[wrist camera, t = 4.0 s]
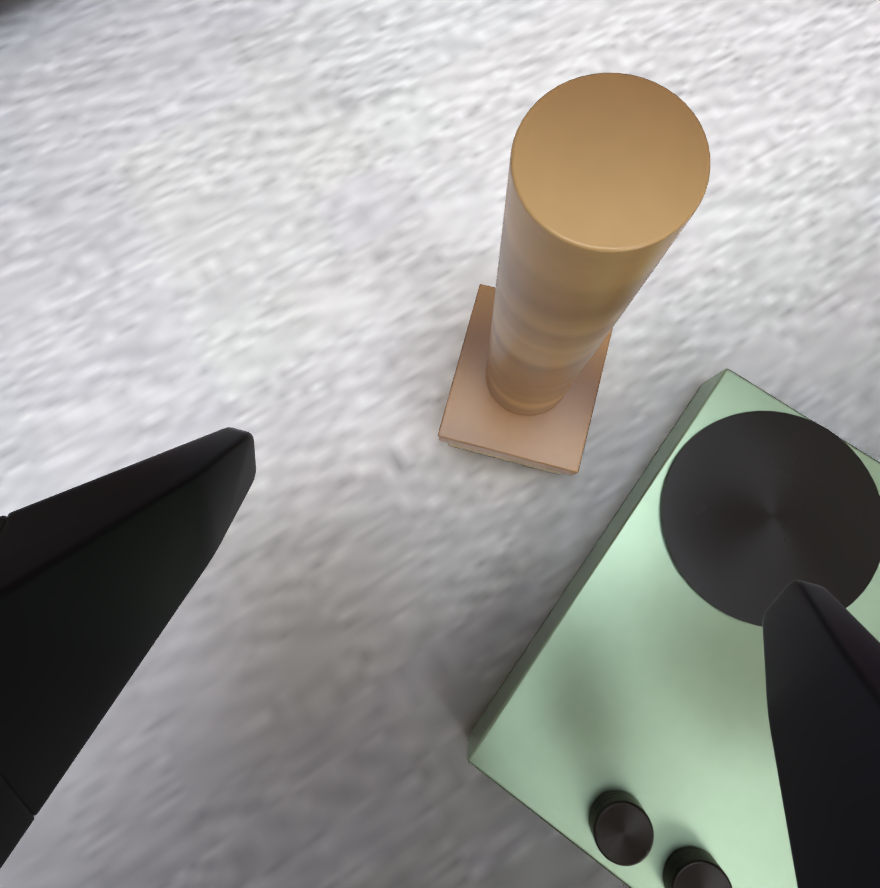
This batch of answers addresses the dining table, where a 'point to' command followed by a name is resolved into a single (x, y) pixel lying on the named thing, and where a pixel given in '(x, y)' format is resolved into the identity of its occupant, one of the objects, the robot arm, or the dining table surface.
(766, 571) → the hob
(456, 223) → the dining table surface
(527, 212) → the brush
